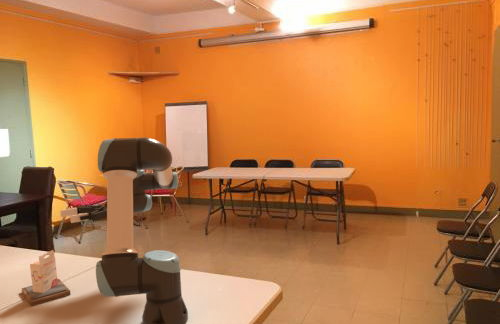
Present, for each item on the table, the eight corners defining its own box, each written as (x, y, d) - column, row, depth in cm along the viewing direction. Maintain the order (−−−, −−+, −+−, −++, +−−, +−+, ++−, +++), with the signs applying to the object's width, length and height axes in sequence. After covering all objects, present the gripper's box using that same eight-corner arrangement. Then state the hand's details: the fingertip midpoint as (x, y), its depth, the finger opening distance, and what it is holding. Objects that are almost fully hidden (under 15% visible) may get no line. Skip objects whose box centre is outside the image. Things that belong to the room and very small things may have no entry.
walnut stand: (70, 294, 164) (70, 289, 164) (31, 305, 155) (30, 300, 155) (59, 282, 176) (58, 277, 176) (22, 292, 167) (21, 287, 167)
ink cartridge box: (47, 283, 170) (44, 248, 168) (58, 284, 169) (55, 249, 167) (32, 292, 162) (28, 255, 160) (42, 293, 161) (39, 256, 159)
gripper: (129, 221, 172) (76, 231, 159) (106, 211, 191) (57, 220, 178) (128, 203, 171) (74, 212, 158) (105, 195, 191) (56, 202, 177)
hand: (65, 216), depth 168 cm, fingers open, 13 cm apart
